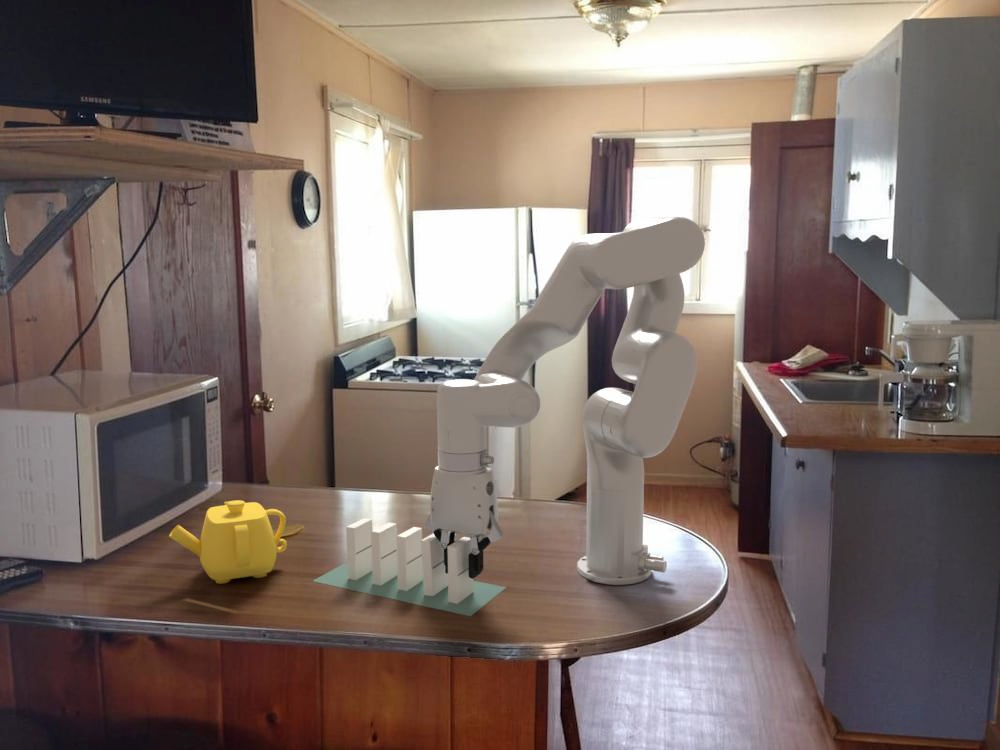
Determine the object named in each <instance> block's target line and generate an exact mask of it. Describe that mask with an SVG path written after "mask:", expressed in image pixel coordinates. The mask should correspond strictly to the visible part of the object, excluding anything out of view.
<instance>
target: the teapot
mask: <svg viewBox="0 0 1000 750" xmlns="http://www.w3.org/2000/svg"><path fill="white" fill-rule="evenodd" d="M273 515H274V516H278V517H279V525H278V528H277V531H276V533H275V532H274V529H273V527H272V524H271V521H270V518H269V516H273ZM286 522H287V519H286V516H285V514H284V513H283V511H280V510H279V509H275V508H270V509H265V508H264V507H263V505H262V504H260V503H258V502H255V501H252V502H245V501H244V500H238V499H237V500H230V501H224V505H217V506H212V507H209V508H208V509H207V511H206V514H205V518H204V522H203V526H202V530H201V534H200V539H199V538H197V537H196V536H194V535H193V534H192V533H191V532H189V531H187V530H186V529H185V528H184V527H183V526H181V525H180V524H177V525H176V526H175V527H174V528H173V529H172V530H171V532H169V535H168V537H170V538H171V540H173V541H175V542H177V543H178V544H180V545H181V546H183V547H185V548H186V549H187V550H189V551H190V552H192V553H193V554H195V555H196V556H198V557H199V561H200V563H201V564H200V565H201V566H202V568H203V569H204V572H205V573H206V574H207V576H208V577H209V578H210V579H211V580H214V581H215V583H216V584H219V585H220V584H227V583H230V582H231V580H233V579H240V578H248V577H252V578H256V579H259V578H260V579H261V578H264V577H267V576H268V573H271V572H272V570H273V569H274V566H275V565H276V564H275V563H276V561H277V560H276V559H277V553H283V552H284V551H286V549H287V548H288V547H287V545H288V543H287V541H286V539H284V538H281V537H282V535H283V533H284V531H285V528H286V524H287V523H286ZM279 544H282V545H280V546H278V545H279Z"/></svg>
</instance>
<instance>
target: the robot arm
mask: <svg viewBox="0 0 1000 750" xmlns="http://www.w3.org/2000/svg"><path fill="white" fill-rule="evenodd" d="M705 240H706V238H705V235H704V232H703V230H702V228H701V227H700V226H699V225H698V223H696V222H695V221H693V220H692V219H689V218H688V217H683V216H682V217H681V216H669V217H668V216H667V217H665V216H664V217H645V218H641V219H640V218H639V219H636V220H634V221H631V222H630V223H628V224H627V225H626V226H625V228H624V229H623V230H622V231H620V232H612V233H611V232H610V233H608V232H607V233H606V232H605V233H603V232H602V233H600V232H599V233H587V234H583V235H580V236H578V237H577V238H575V239H574V240H573V241H572V242H571V243H570V245H569V246H568V247H567V249H566V250H565V252H564V253H563V255H562V257H561V258H560V260H559V261H558V263H557V264H556V267H555V268H554V270H553V272H552V273H551V275H550V277H549V278H548V280H547V281H546V283H545V284H544V287H543V288H542V290H541V291H540V293H539V295H538V297H537V298H536V299H535V301H534V303H533V305H532V306H531V307H530V309H529V310H528V311H527V312H526V313H525V314H524V315H523V316H522V317H521V318H519V319H518V321H516V322H515V324H513V325H512V326H511V327H510V328H509V330H507V331H506V333H504V334H503V335H502V336H501V338H500V339H498V341H497V342H496V343H495V345H493V347H492V348H491V350H490V352H489V353H488V355H487V356H486V358H485V359H484V361H483V363H482V365H481V366H480V368H479V369H478V372H477V373H476V375H475V377H474V379H466V378H465V379H449V380H445V381H443V382H441V383H440V384H439V385H438V387H437V390H436V411H437V412H436V413H437V414H436V415H437V416H436V417H437V418H436V419H437V420H436V421H437V425H436V426H437V465H436V466H435V467H434V471H433V476H432V480H431V491H430V505H429V506H430V508H429V509H430V510H429V511H430V512H429V515H428V517H427V518H426V520H425V522H424V527H425V528H426V529H427V530H428V531H429V532H431V534H433V533H434V535H435V537H436V538H437V539H438V540H439V542H440V546H441V548H443V549H444V565H445V573H447V574H448V548H447V547H448V546H449V545H451V544H452V543H454V542H456V541H457V533H458V534H464V535H469V538H470V543H471V550H472V552H471V553H470V554H469V555H468V566H469V577H470V578H472V579H473V580H474V579H475V578H476V577H478V576H479V575H480V574H481V573H482V571H483V570H484V550H485V549H487V547H488V546H490V545H491V544H493V543H495V542H497V541H499V540H501V539H502V538H503V537H504V533H503V531H502V529H501V527H500V525H499V506H498V497H497V488H496V482H495V481H496V480H495V478H494V474H493V471H492V468H491V467H488V466H489V465H490V466H493V464H494V462H495V457H494V456H492V455H489V454H488V453H489V452H488V449H487V447H488V446H487V443H488V442H487V441H488V440H487V439H488V438H487V437H488V436H487V427H495V428H496V427H498V428H509V429H510V428H519V427H520V428H521V427H524V426H526V425H528V424H530V423H532V421H533V420H535V419H536V417H538V414H539V413H540V408H541V398H540V396H539V393H538V391H537V389H535V388H534V386H532V385H531V384H530V383H529V382H527V381H525V380H523V378H524V377H525V375H526V374H527V372H528V371H529V370H530V368H531V367H532V366H533V365H534V364H535V363H536V362H537V361H538V360H539V359H540V358H542V357H543V356H544V355H546V354H548V353H550V352H551V351H553V350H555V349H559V348H560V347H562V346H565V345H566V344H568V343H570V342H572V340H574V339H575V338H576V337H577V336H578V335H579V334H580V332H581V331H582V329H583V327H584V326H585V323H586V322H587V321H588V319H589V317H590V315H591V313H592V312H593V310H594V308H595V307H596V305H597V303H598V301H599V300H600V299H601V297H602V295H603V294H604V292H605V291H606V290H607V289H608V290H625V289H628V288H633V294H632V298H631V302H630V306H629V309H628V311H627V314H626V317H625V319H624V322H623V324H622V327H621V330H620V332H619V336H618V338H617V340H616V342H615V343H616V344H615V346H614V349H613V351H612V357H611V366H612V369H613V371H614V373H615V374H616V375H617V376H618V377H619V378H620V379H622V380H623V381H625V382H628V383H631V384H634V385H635V386H634V390H633V391H631V390H627V389H623V388H619V387H604V388H602V389H599V390H597V391H596V392H594V393H592V395H591V396H589V398H588V399H587V401H586V403H585V405H584V408H583V412H582V430H583V437H584V444H585V450H586V467H587V468H586V469H587V470H586V475H587V476H586V540H585V542H586V543H585V544H586V548H585V549H586V551H585V552H586V553H585V555H584V556H582V557H581V558H579V559H578V560H577V563H576V570H577V573H579V575H580V576H582V577H583V578H585V579H587V580H588V581H591V582H594V583H597V584H602V585H611V586H612V585H613V586H623V585H624V586H625V585H633V584H637V583H641V582H644V581H645V580H647V579H649V578H650V576H651V575H652V571H654V572H657V573H664V574H665V573H666V571H667V565H668V564H667V561H666V560H664V556H662V555H653V554H651V553H649V552H648V551H649V550H648V549H649V545H648V544H644V543H643V542H644V536H643V535H644V506H645V505H644V499H645V497H644V495H645V494H644V491H645V466H644V465H645V464H644V459H645V458H646V459H647V458H653V457H655V456H657V455H659V454H661V453H662V452H663V451H664V450H666V448H667V447H668V446H669V445H670V443H671V442H672V440H673V438H674V436H675V434H676V431H677V429H678V427H679V423H680V421H681V419H682V416H683V413H684V410H685V408H686V405H687V402H688V400H689V397H690V394H691V392H692V389H693V386H694V383H695V381H696V377H697V372H698V357H697V352H696V349H695V347H694V345H693V344H692V343H691V342H690V340H689V339H688V338H687V337H686V336H683V335H681V334H680V333H677V330H678V327H679V323H680V320H681V318H682V317H681V316H682V314H683V311H684V306H685V289H684V284H683V279H682V277H681V273H684V272H687V271H689V270H690V269H692V268H693V267H694V266H696V265H697V264H698V263H699V261H700V260H701V258H702V256H703V255H704V251H705V248H706V247H705V245H706V242H705ZM643 458H644V459H643ZM487 530H488V531H489V533H490V534H488V535H487V536H486V534H487Z"/></svg>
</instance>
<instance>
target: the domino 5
mask: <svg viewBox="0 0 1000 750" xmlns="http://www.w3.org/2000/svg"><path fill="white" fill-rule="evenodd" d="M447 548H448V597H449V602H452V603H456V604H458V603H459V602H461V601H462V600H463V599H465V598H466V597H467V596H469V595H470V594H471V593H473V581H474V578H473V579H472V578H470V577H469V566H468V555H469V554H470V553H471V552H472V550H471V543H470V536H469V537H468V536H463V537H461V538H459V539H456V541H455V542H454V543H452V544H451V545H449V546H448V547H447Z"/></svg>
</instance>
